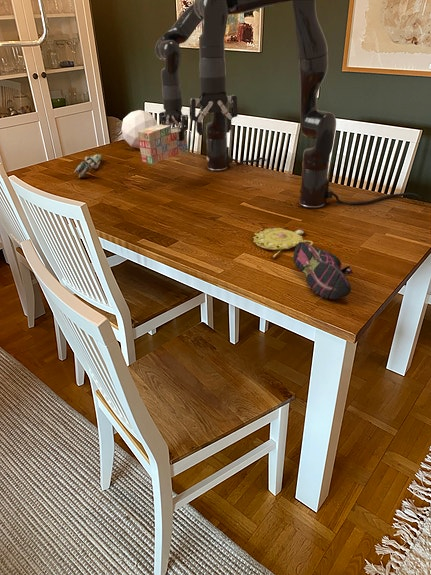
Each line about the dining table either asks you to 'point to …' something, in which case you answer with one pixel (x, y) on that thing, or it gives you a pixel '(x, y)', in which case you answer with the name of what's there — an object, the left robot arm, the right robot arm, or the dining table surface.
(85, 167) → the figurine
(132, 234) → the dining table surface
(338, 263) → the athletic shoe
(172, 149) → the stack of blocks
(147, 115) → the sphere
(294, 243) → the decorative object
